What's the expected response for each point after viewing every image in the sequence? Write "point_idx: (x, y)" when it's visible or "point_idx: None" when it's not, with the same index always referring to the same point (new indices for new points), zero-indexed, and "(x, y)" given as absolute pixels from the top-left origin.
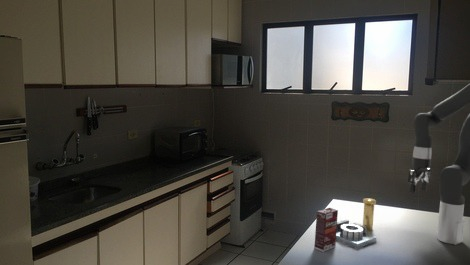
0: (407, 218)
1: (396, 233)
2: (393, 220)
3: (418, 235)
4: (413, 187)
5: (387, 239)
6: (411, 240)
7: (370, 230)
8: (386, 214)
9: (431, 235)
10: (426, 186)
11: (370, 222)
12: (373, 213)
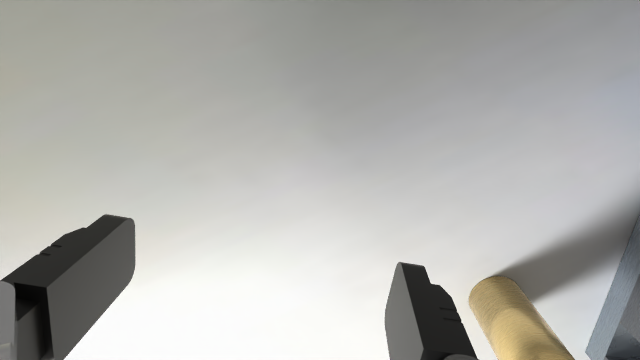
0: (142, 246)
1: (439, 176)
2: (247, 278)
3: (370, 76)
4: (464, 335)
5: (572, 165)
6: (488, 67)
7: (510, 279)
8: (188, 340)
9: (302, 19)
10: (74, 249)
11: (534, 310)
12: (539, 347)
